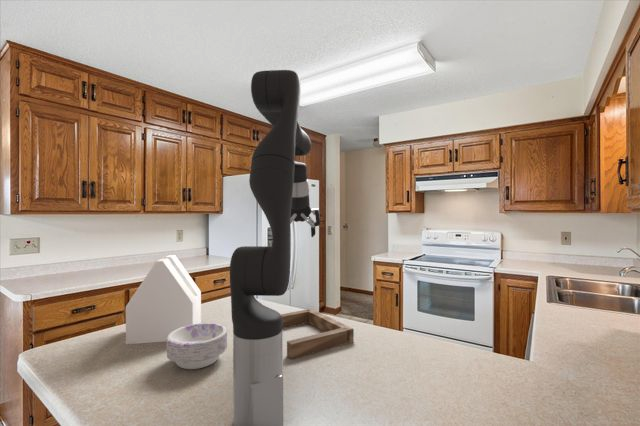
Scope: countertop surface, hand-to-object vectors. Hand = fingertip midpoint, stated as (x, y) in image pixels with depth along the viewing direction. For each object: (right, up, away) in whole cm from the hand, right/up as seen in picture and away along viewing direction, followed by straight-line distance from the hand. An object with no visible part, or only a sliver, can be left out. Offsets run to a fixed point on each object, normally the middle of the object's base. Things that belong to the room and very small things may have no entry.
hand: (300, 236), depth 118 cm
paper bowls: (-26, -32, -31) cm, 51 cm away
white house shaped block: (-44, -32, -10) cm, 55 cm away
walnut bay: (+1, -31, -13) cm, 34 cm away
